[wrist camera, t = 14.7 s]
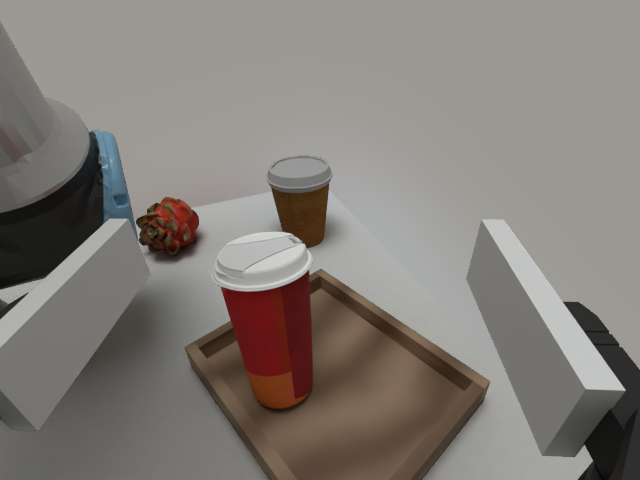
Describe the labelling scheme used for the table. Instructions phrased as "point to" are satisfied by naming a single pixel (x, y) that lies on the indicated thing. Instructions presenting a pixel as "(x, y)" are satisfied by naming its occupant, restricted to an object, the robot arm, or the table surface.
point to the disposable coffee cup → (301, 195)
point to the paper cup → (270, 313)
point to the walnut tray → (348, 395)
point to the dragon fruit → (168, 226)
